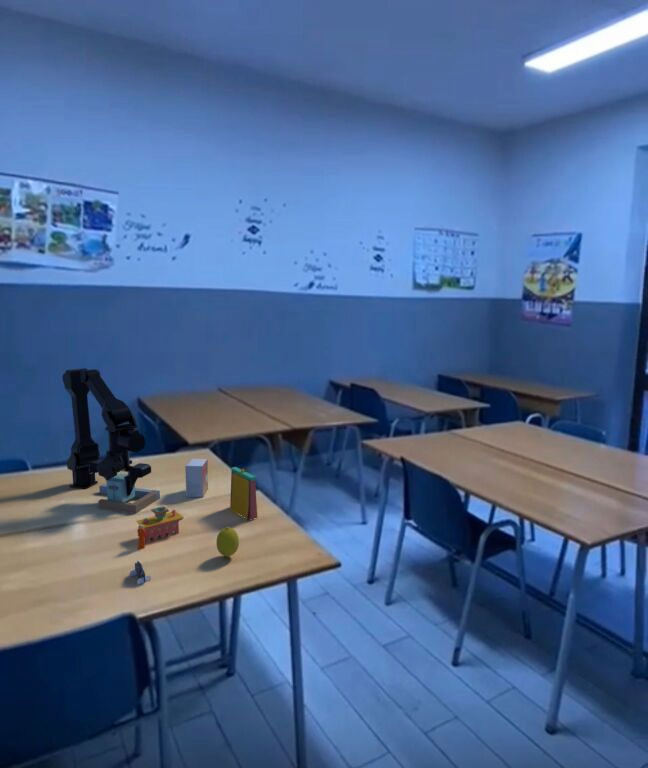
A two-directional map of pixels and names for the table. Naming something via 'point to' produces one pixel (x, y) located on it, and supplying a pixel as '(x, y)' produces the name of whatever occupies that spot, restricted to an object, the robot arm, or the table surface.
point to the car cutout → (140, 573)
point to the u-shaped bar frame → (144, 501)
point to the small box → (196, 477)
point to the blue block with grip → (118, 489)
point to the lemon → (227, 541)
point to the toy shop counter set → (169, 522)
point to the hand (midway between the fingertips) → (121, 494)
